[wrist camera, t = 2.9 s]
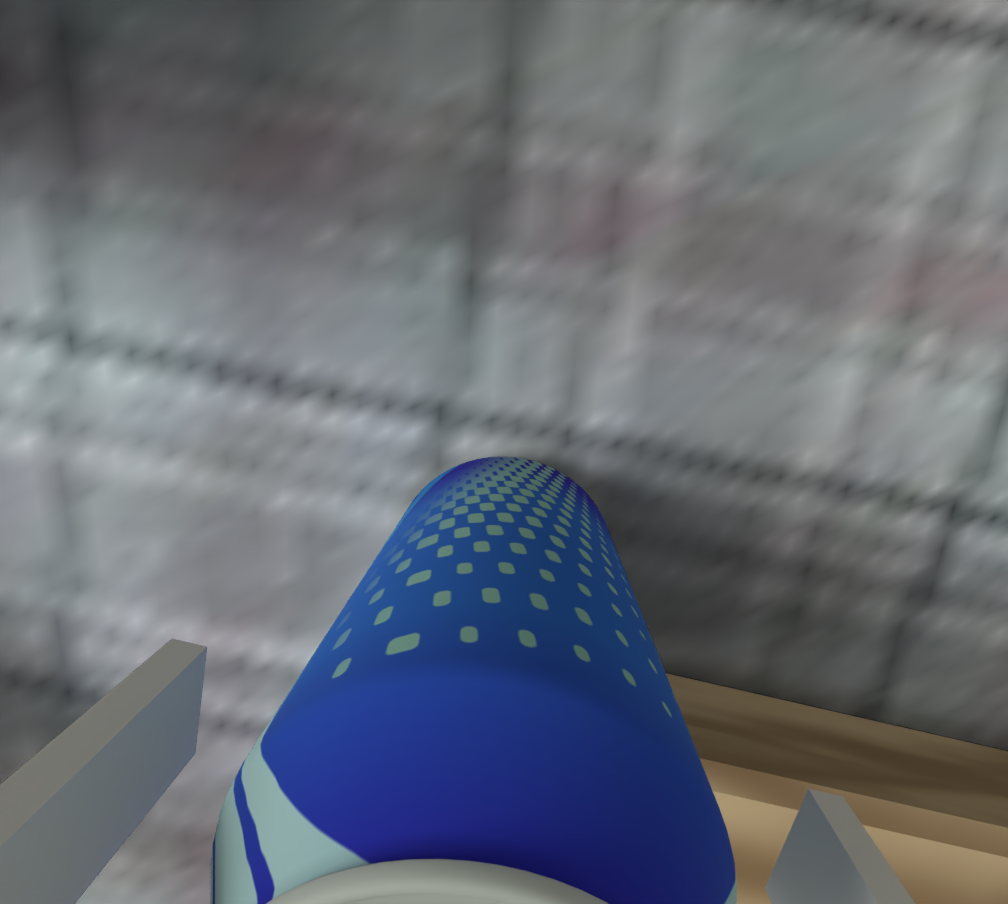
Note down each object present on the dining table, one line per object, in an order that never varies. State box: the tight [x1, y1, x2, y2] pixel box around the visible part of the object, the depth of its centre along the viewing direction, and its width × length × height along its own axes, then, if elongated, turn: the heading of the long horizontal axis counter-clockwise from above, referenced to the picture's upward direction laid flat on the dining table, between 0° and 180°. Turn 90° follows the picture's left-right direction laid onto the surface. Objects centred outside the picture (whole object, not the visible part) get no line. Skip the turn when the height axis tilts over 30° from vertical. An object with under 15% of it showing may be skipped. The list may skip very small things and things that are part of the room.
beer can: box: [211, 457, 737, 904], centre depth 14 cm, size 8×8×16 cm
